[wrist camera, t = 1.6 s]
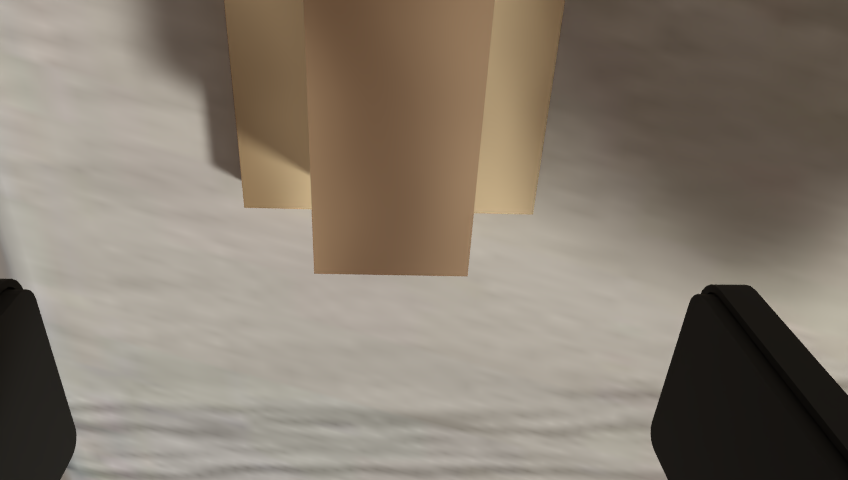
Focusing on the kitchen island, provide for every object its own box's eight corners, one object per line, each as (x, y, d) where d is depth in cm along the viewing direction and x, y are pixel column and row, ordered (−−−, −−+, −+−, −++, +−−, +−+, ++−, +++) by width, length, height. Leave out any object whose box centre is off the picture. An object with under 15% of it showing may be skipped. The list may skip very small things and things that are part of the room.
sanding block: (469, -41, 20) (495, -9, 15) (451, 189, 24) (467, 276, 19) (325, -49, 20) (302, -18, 15) (330, 185, 24) (314, 273, 19)
